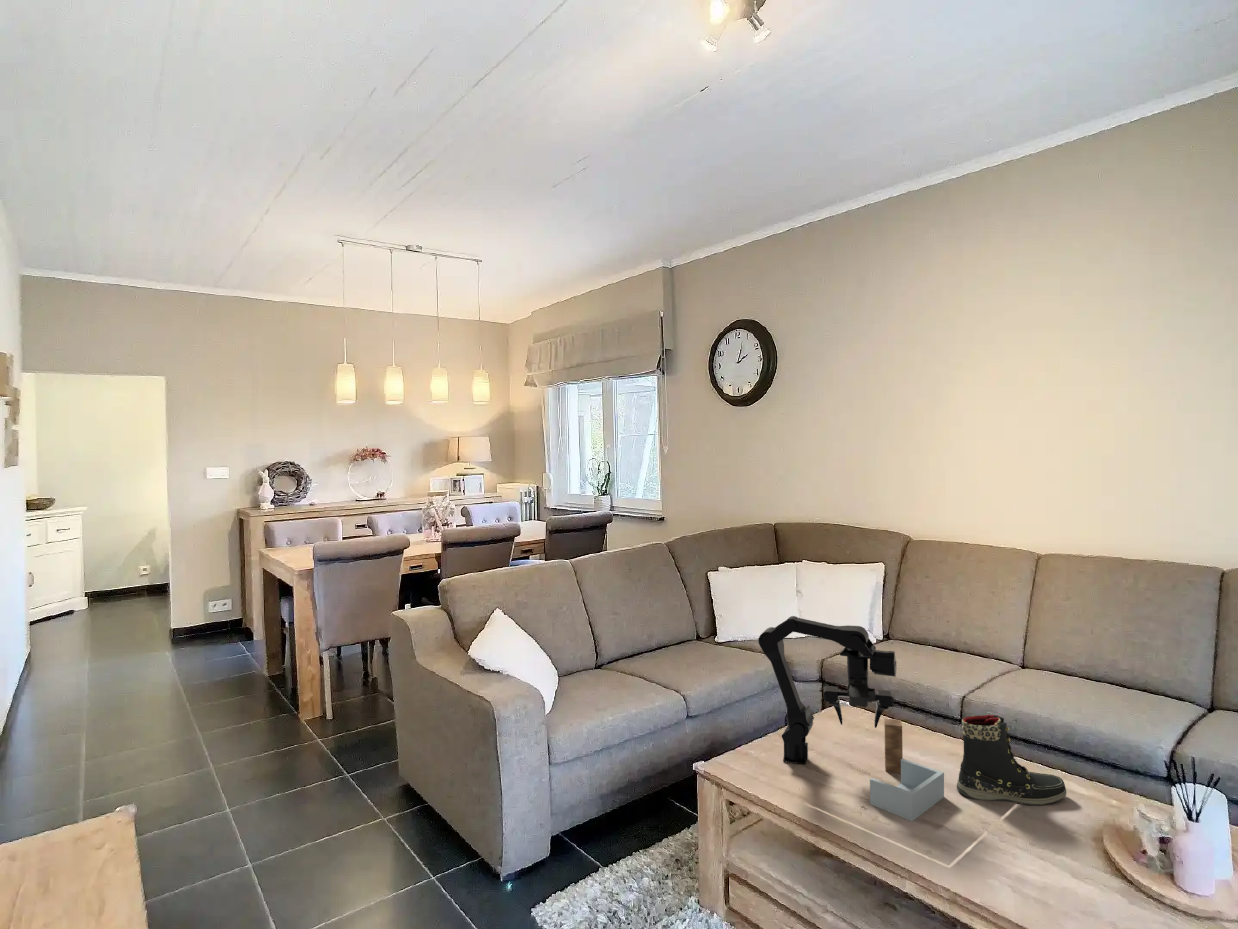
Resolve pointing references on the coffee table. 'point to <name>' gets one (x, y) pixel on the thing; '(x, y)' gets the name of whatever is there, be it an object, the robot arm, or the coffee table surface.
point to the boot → (1000, 767)
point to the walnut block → (893, 745)
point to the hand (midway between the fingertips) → (858, 725)
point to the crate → (909, 791)
